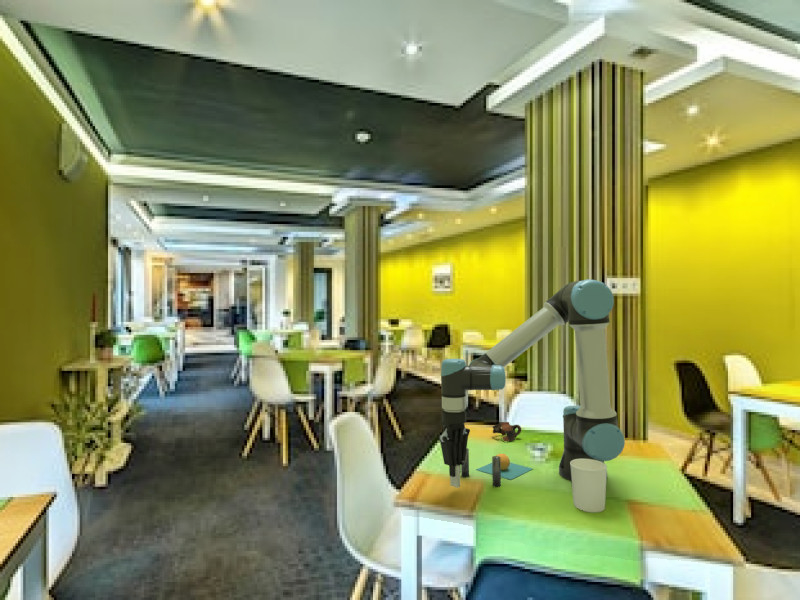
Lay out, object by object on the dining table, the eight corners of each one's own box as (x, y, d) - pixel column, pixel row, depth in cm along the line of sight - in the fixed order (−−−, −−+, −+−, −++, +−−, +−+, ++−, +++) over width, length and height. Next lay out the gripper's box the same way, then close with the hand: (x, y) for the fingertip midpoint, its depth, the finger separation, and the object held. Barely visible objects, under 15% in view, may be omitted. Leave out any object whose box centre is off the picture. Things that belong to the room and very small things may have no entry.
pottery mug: (497, 444, 198) (491, 424, 202) (496, 448, 207) (490, 429, 210) (525, 436, 198) (518, 417, 202) (523, 440, 206) (516, 421, 210)
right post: (502, 485, 153) (502, 457, 153) (497, 487, 151) (497, 459, 151) (495, 483, 154) (495, 455, 154) (491, 485, 153) (490, 457, 153)
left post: (470, 475, 162) (470, 449, 162) (465, 477, 160) (465, 450, 160) (464, 473, 163) (464, 447, 164) (459, 475, 162) (459, 449, 162)
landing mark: (533, 469, 167) (533, 468, 167) (510, 480, 157) (510, 479, 157) (499, 460, 177) (499, 459, 177) (476, 469, 167) (476, 469, 167)
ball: (507, 453, 164) (502, 469, 162) (514, 458, 168) (510, 474, 165) (493, 449, 168) (488, 465, 166) (500, 455, 171) (496, 470, 169)
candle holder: (566, 499, 141) (565, 458, 141) (599, 499, 141) (599, 458, 141) (577, 514, 132) (576, 470, 132) (613, 513, 131) (612, 470, 131)
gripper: (457, 404, 155) (459, 477, 155) (430, 411, 146) (432, 488, 146) (476, 407, 150) (477, 483, 150) (449, 415, 141) (451, 495, 141)
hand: (455, 485), depth 148 cm, fingers closed
